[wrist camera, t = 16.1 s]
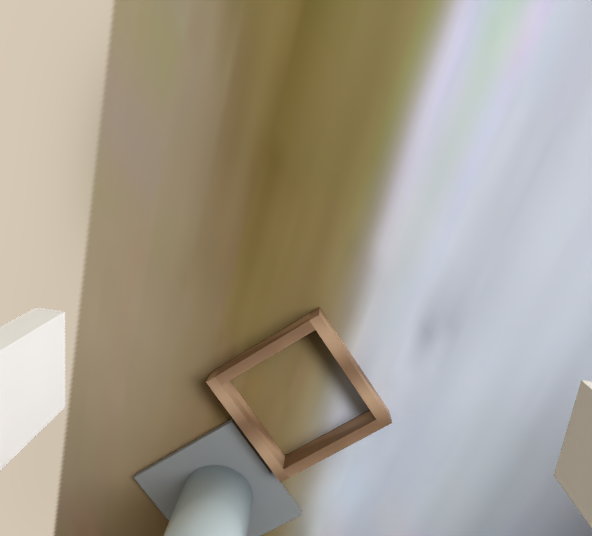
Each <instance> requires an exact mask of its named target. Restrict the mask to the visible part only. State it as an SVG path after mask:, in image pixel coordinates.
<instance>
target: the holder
mask: <svg viewBox="0 0 592 536" xmlns="http://www.w3.org/2000/svg"><path fill="white" fill-rule="evenodd" d="M315 330H316V331H317V333H318V334H319V336H320V337H321V338H322V340H323V341H324V343H325V344H326V346H327V347H328V349H329V350H330V352H331V353H332V355H333V356H334V358H335V359H336V361H337V362H338V364H339V365H340V367H341V368H342V369H343V371H344V372H345V374H346V375H347V377H348V378H349V380H350V381H351V383H352V384H353V386H354V387H355V389H356V390H357V392H358V393H359V395H360V396H361V397H362V399H363V400H364V402H365V403H366V405H367V406H368V408H369V409H370V410H369V411H367V412H365V413H363V414H362V415H360V416H358V417H356V418H354V419H352V420H351V421H349V422H347V423H345V424H343V425H341V426H339V427H338V428H336V429H334V430H332V431H330V432H328V433H327V434H325V435H323V436H321V437H319V438H317V439H316V440H314V441H312V442H310V443H308V444H306V445H304V446H303V447H301V448H299V449H297V450H295V451H293V452H292V453H290V454H288V455H286V456H285V455H284V454H283V453H282V451H281V450H280V448H279V447H278V446H277V444H276V443H275V442H274V440H273V439H272V438H271V436H270V435H269V433H268V432H267V431H266V429H265V428H264V427H263V425H262V424H261V422H260V421H259V420H258V418H257V417H256V416H255V414H254V413H253V412H252V410H251V409H250V407H249V406H248V405H247V403H246V402H245V401H244V399H243V398H242V397H241V395H240V394H239V392H238V391H237V390H236V388H235V387H234V386H233V384H232V383H231V382H230V380H232V379H233V378H235V377H237V376H239V375H240V374H242V373H244V372H245V371H247V370H249V369H250V368H252V367H254V366H255V365H257V364H259V363H260V362H262V361H264V360H266V359H267V358H269V357H271V356H272V355H274V354H276V353H277V352H279V351H281V350H282V349H284V348H286V347H288V346H289V345H291V344H293V343H294V342H296V341H298V340H299V339H301V338H303V337H304V336H306V335H308V334H309V333H311V332H313V331H315ZM206 383H207V384H208V386H209V387H210V388H211V390H212V391H213V392H214V394H215V395H216V396H217V398H218V399H219V400H220V402H221V403H222V405H223V406H224V407H225V409H226V410H227V411H228V413H229V414H230V415H231V417H232V418H233V419H234V421H235V422H236V423H237V425H238V426H239V427H240V429H241V430H242V431H243V433H244V434H245V435H246V437H247V438H248V439H249V441H250V442H251V444H252V445H253V446H254V448H255V449H256V450H257V452H258V453H259V454H260V456H261V457H262V458H263V460H264V461H265V462H266V464H267V465H268V466H269V468H270V469H271V470H272V472H273V473H274V474H275V476H276V477H277V478H278V480H279V481H280V482H282V481H284V480H286V479H287V478H289V477H291V476H293V475H295V474H297V473H299V472H301V471H302V470H304V469H306V468H308V467H310V466H312V465H314V464H316V463H318V462H319V461H321V460H323V459H325V458H327V457H329V456H331V455H333V454H334V453H336V452H338V451H340V450H342V449H344V448H346V447H348V446H349V445H351V444H353V443H355V442H357V441H359V440H361V439H363V438H365V437H366V436H368V435H370V434H372V433H374V432H376V431H378V430H380V429H381V428H383V427H385V426H387V425H389V424H391V423H392V421H391V417H390V413H389V410H388V409H387V407H386V406H385V404H384V403H383V401H382V400H381V398H380V397H379V395H378V394H377V392H376V391H375V389H374V388H373V386H372V385H371V383H370V382H369V380H368V379H367V377H366V376H365V374H364V373H363V371H362V370H361V368H360V367H359V365H358V364H357V362H356V361H355V359H354V358H353V356H352V355H351V353H350V352H349V350H348V349H347V347H346V346H345V345H344V343H343V342H342V340H341V339H340V337H339V336H338V334H337V333H336V331H335V330H334V328H333V327H332V325H331V324H330V322H329V321H328V319H327V318H326V316H325V315H324V313H323V312H322V310H321V309H320V307H319V308H317V309H315V310H314V311H312V312H310V313H309V314H307V315H305V316H304V317H302V318H300V319H299V320H297V321H295V322H294V323H292V324H291V325H289V326H287V327H286V328H284V329H282V330H281V331H279V332H277V333H276V334H274V335H272V336H271V337H269V338H267V339H266V340H264V341H262V342H261V343H259V344H257V345H256V346H254V347H252V348H251V349H249V350H247V351H246V352H244V353H242V354H241V355H239V356H237V357H236V358H234V359H232V360H231V361H229V362H227V363H226V364H224V365H222V366H221V367H219V368H217V369H216V370H214V371H212V372H211V374H210V376H209V377H208V379H207V381H206Z"/></svg>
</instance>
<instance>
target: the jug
mask: <svg viewBox="0 0 592 536" xmlns="http://www.w3.org/2000/svg"><path fill="white" fill-rule="evenodd" d="M252 505H253V491H252V488H251V486H250V484H249V482H248V481H247V480H246V478H245V477H244V476H243V475H241V474H240V473H239V472H237V471H236V470H234V469H231V468H229V467H226V466H220V465H211V466H205V467H202V468H200V469H198V470H196V471H195V472H193V473H192V474H191V475H190V476H189V477H188V479H187V480H186V482H185V484H184V487H183V489H182V492H181V494H180V497H179V499H178V502H177V504H176V506H175V509H174V511H173V514H172V516H171V519H170V521H169V523H168V526H167V528H166V531H165V533H164V536H247V531H248V525H249V520H250V515H251V510H252Z"/></svg>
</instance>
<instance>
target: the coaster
mask: <svg viewBox="0 0 592 536" xmlns="http://www.w3.org/2000/svg"><path fill="white" fill-rule="evenodd" d="M211 465H220V466H226V467H229V468H231V469H234V470H236V471H237V472H239V473H240V474H241V475H243V476H244V477H245V478H246V480H247V481H248V482H249V484H250V486H251V488H252V491H253V505H252V510H251V515H250V520H249V525H248V531H247V536H261V535H263V534H265V533H267V532H269V531H271V530H273V529H275V528H276V527H278V526H280V525H282V524H284V523H286V522H288V521H290V520H292V519H294V518H296V517H298V516H300V515H301V512H302V510H301V509H300V507H299V506H298V505H297V503H296V502H295V501H294V499H293V498H292V497H291V495H290V494H289V493H288V491H287V490H286V489H285V487H284V486H283V485H282V483H281V482H280V481H279V480H278V478H277V477H276V476H275V474H274V473H273V472H272V470H271V469H270V468H269V466H268V465H267V464H266V462H265V461H264V460H263V458H262V457H261V456H260V454H259V453H258V452H257V450H256V449H255V448H254V446H253V445H252V444H251V442H250V441H249V439H248V438H247V437H246V435H245V434H244V433H243V431H242V430H241V429H240V427H239V426H238V425H237V423H236V422H235V421H234V419H233V418H232V419H231V420H229V421H227V422H226V423H224V424H222V425H220V426H219V427H217V428H215V429H213V430H212V431H210V432H208V433H206V434H205V435H203V436H201V437H199V438H198V439H196V440H194V441H192V442H191V443H189V444H187V445H185V446H184V447H182V448H180V449H178V450H177V451H175V452H173V453H171V454H170V455H168V456H166V457H164V458H163V459H161V460H159V461H158V462H156V463H154V464H152V465H151V466H149V467H147V468H145V469H144V470H142V471H140V472H138V473H137V474H136V475H135V476H134V479H135V480H136V481H137V482H138V484H139V485H140V486H141V487H142V489H143V490H144V491H145V492H146V494H147V495H148V496H149V497H150V499H151V500H152V501H153V502H154V503H155V505H156V506H157V507H158V508H159V510H160V511H161V512H162V513H163V515H164V516H165V517H166V518H167V519H168V521H170V519H171V516H172V514H173V511H174V509H175V506H176V504H177V502H178V499H179V497H180V494H181V492H182V489H183V487H184V484H185V482H186V480H187V479H188V477H189V476H190V475H191V474H192V473H193V472H195V471H196V470H198V469H200V468H202V467H205V466H211Z"/></svg>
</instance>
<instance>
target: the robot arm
mask: <svg viewBox="0 0 592 536" xmlns="http://www.w3.org/2000/svg"><path fill="white" fill-rule="evenodd" d="M64 408H65V312H64V311H58V310H50V309H42V308H34V309H32V310H30V311H29V312H27V313H25V314H23V315H21V316H19V317H17V318H15V319H13V320H12V321H9V322H8V323H6V324H4V325H2V326H0V470H1V469H2V468H3V467H4V466H5V465H6V464H7V463H8V462H9V461H10V460H11V459H12V458H13V457H14V456H15V455H16V454H18V453H19V452H20V451H21V450H22V449H23V448H24V447H25V446H26V445H27V444H28V443H29V442H30V441H31V440H32V439H33V438H34V437H35V436H36V435H37V434H38V433H39V432H40V431H41V430H42V429H43V428H44V427H45V426H46V425H47V424H49V422H51V421H52V420H53V419H54V418H55V417H56V416H57V415H58V414H59V413H60V412H61V411H62V410H63V409H64ZM554 476H555V478H556V479H557V481H558V482H559V483H560V485H561V486H562V488H563V489H564V490H565V492H566V493H567V495H568V496H569V497H570V499H571V500H572V502H573V503H574V504H575V506H576V507H577V509H578V510H579V511H580V513H581V514H582V516H583V517H584V518H585V520H586V521H587V523H588V524H589V525H590V527H591V528H592V382H590V381H583V380H581V384H580V387H579V391H578V394H577V398H576V401H575V404H574V408H573V411H572V415H571V418H570V422H569V425H568V429H567V432H566V435H565V439H564V442H563V446H562V449H561V453H560V456H559V459H558V463H557V466H556V470H555V473H554Z"/></svg>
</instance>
